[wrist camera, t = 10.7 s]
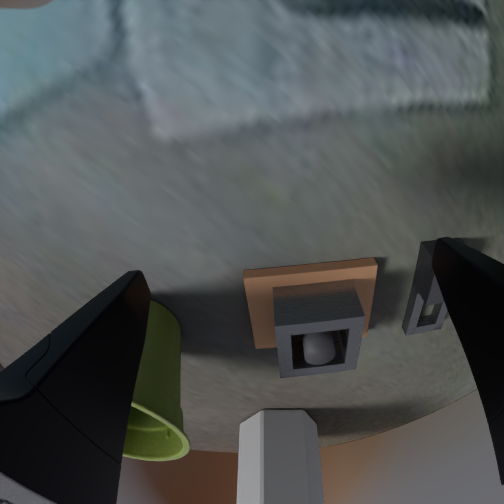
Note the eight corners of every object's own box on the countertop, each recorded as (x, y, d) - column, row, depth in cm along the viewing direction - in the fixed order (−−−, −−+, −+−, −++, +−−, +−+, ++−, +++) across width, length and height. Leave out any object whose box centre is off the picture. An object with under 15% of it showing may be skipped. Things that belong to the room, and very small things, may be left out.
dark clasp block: (460, 237, 22) (478, 258, 19) (436, 320, 27) (447, 341, 24) (420, 241, 22) (436, 263, 20) (401, 326, 27) (411, 349, 25)
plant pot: (228, 306, 26) (216, 431, 16) (182, 375, 32) (165, 470, 22) (96, 248, 23) (27, 356, 14) (80, 333, 29) (40, 422, 19)
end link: (351, 278, 23) (365, 316, 20) (346, 332, 26) (355, 368, 23) (272, 287, 23) (274, 326, 20) (278, 340, 27) (280, 377, 23)
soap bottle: (239, 435, 40) (234, 574, 22) (240, 407, 35) (234, 578, 17) (309, 435, 40) (318, 570, 22) (323, 407, 35) (339, 572, 17)
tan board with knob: (373, 257, 23) (397, 306, 18) (363, 329, 27) (378, 376, 23) (243, 270, 24) (240, 323, 19) (255, 340, 28) (255, 390, 24)
